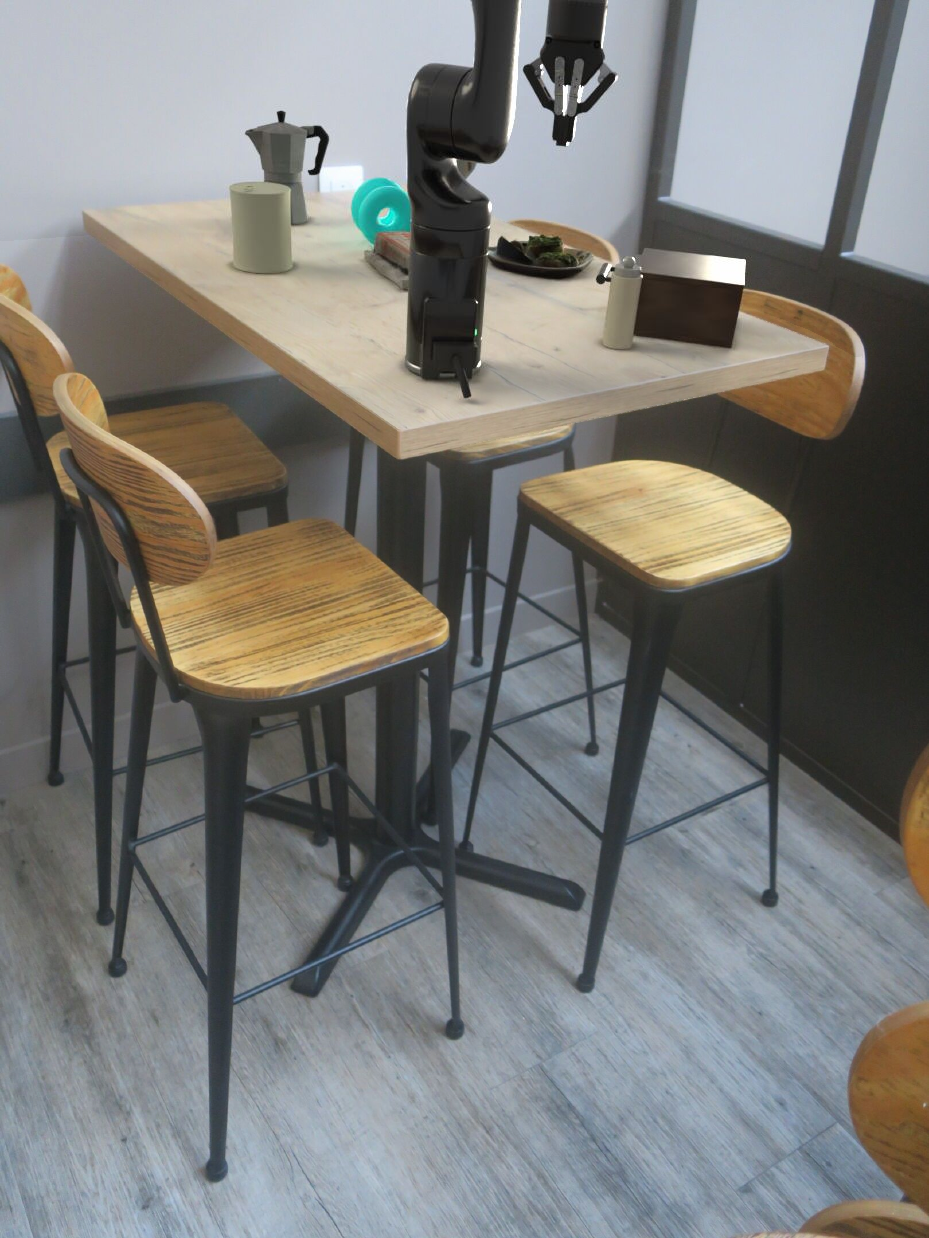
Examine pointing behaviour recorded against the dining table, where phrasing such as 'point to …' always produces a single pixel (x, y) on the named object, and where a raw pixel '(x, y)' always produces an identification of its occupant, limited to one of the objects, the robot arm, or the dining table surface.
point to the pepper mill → (622, 305)
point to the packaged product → (391, 256)
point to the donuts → (380, 208)
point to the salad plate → (539, 257)
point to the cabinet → (689, 297)
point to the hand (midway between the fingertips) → (562, 145)
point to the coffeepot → (288, 158)
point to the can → (261, 227)
